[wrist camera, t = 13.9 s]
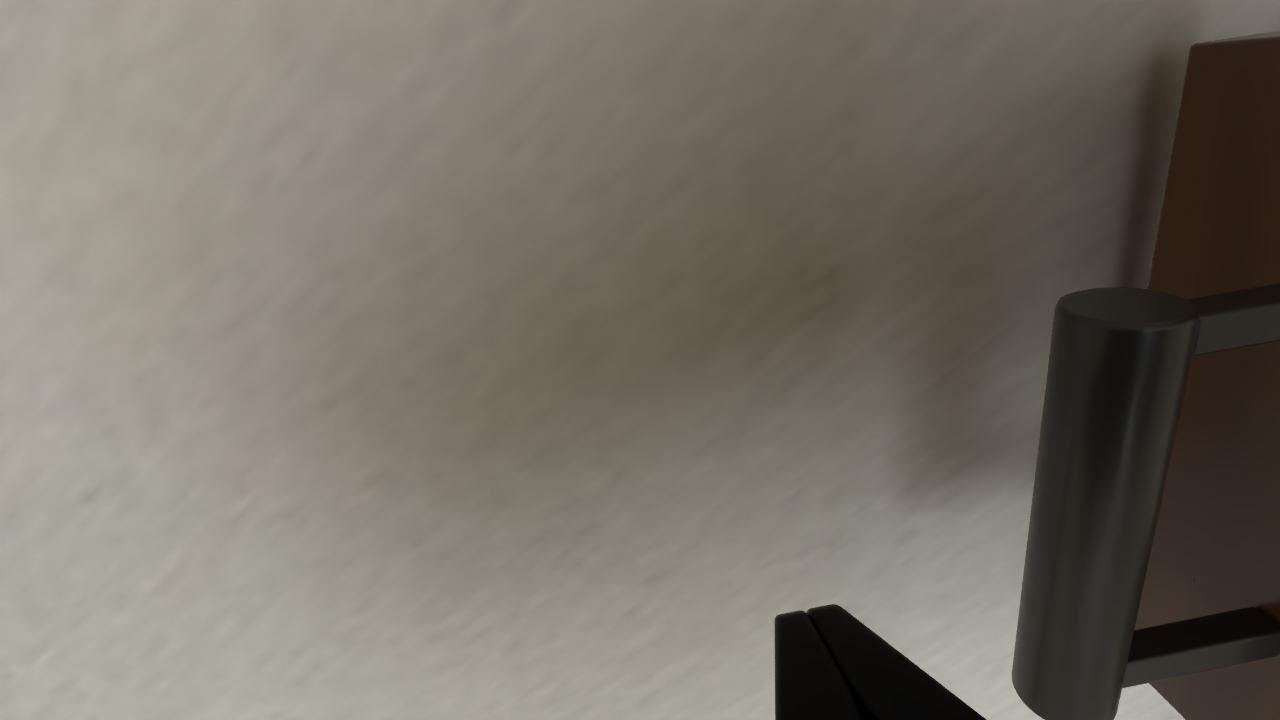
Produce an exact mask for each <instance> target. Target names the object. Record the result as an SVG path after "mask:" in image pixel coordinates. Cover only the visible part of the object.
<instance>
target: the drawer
mask: <svg viewBox="0 0 1280 720" xmlns="http://www.w3.org/2000/svg"><path fill="white" fill-rule="evenodd" d="M1012 682H1013V685H1014V688H1015V690H1016V692H1017V694H1018V695H1019V697H1020V698H1021V700H1022V701H1023V702H1024V703H1025V705H1026V706H1027V707H1028V708H1030V709H1031V710H1032V711H1033V712H1034V713H1035V714H1037V715H1038V716H1040V717H1041V718H1043V719H1045V720H1113V719H1114V718H1115V716H1116V713H1117V709H1118V704H1119V699H1120V695H1121V690H1122V688H1125V687H1130V686H1135V685H1140V684H1145V683H1149V684H1150V685H1152V686H1153V687H1154V688H1155V689H1156V690H1157V691H1158V692H1159V693H1160V694H1161V695H1162V696H1163V697H1164V698H1165V699H1166V700H1167V701H1168V702H1169V703H1170V704H1171V705H1172V706H1173V707H1174V708H1175V709H1176V710H1177V711H1178V712H1179V713H1180V714H1181V715H1182V716H1183V717H1184V718H1185V719H1186V720H1280V32H1273V33H1262V34H1254V35H1248V36H1241V37H1235V38H1228V39H1222V40H1215V41H1209V42H1202V43H1196V44H1194V45H1192V46H1191V48H1190V52H1189V58H1188V63H1187V69H1186V75H1185V81H1184V86H1183V92H1182V98H1181V103H1180V109H1179V115H1178V121H1177V126H1176V132H1175V138H1174V143H1173V149H1172V155H1171V160H1170V166H1169V172H1168V178H1167V183H1166V189H1165V195H1164V200H1163V206H1162V212H1161V217H1160V223H1159V229H1158V235H1157V240H1156V246H1155V252H1154V257H1153V263H1152V269H1151V275H1150V280H1149V286H1148V290H1146V289H1137V288H1096V289H1088V290H1082V291H1077V292H1073V293H1070V294H1067V295H1065V296H1063V297H1062V298H1061V299H1060V300H1059V301H1058V303H1057V304H1056V306H1055V313H1054V322H1053V330H1052V339H1051V347H1050V355H1049V364H1048V372H1047V381H1046V389H1045V398H1044V406H1043V415H1042V423H1041V431H1040V440H1039V448H1038V457H1037V465H1036V474H1035V482H1034V491H1033V499H1032V508H1031V516H1030V524H1029V533H1028V541H1027V550H1026V558H1025V567H1024V575H1023V584H1022V592H1021V600H1020V609H1019V617H1018V626H1017V634H1016V643H1015V651H1014V660H1013V668H1012Z"/></svg>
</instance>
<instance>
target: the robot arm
mask: <svg viewBox="0 0 1280 720" xmlns="http://www.w3.org/2000/svg"><path fill="white" fill-rule="evenodd" d="M775 720H986V719H985V718H983V717H982V716H981V715H980V714H978V713H977V712H976V711H974V710H973V709H972V708H971V707H969V706H968V705H967V704H965V703H964V702H963V701H962V700H960V699H959V698H958V697H956V696H955V695H954V694H953V693H951V692H950V691H949V690H947V689H946V688H945V687H944V686H942V685H941V684H940V683H938V682H937V681H936V680H935V679H933V678H932V677H931V676H929V675H928V674H927V673H926V672H924V671H923V670H922V669H920V668H919V667H918V666H917V665H915V664H914V663H913V662H911V661H910V660H909V659H908V658H906V657H905V656H904V655H902V654H901V653H900V652H899V651H897V650H896V649H895V648H893V647H892V646H891V645H890V644H888V643H887V642H886V641H884V640H883V639H882V638H881V637H879V636H878V635H877V634H875V633H874V632H873V631H871V630H870V629H869V628H868V627H866V626H865V625H864V624H862V623H861V622H860V621H859V620H857V619H856V618H855V617H853V616H852V615H851V614H850V613H848V612H847V611H846V610H844V609H843V608H842V607H840V606H838V605H835V604H831V605H826V606H821V607H816V608H811V609H809V610H808V611H807V613H806V612H804V611H795V612H790V613H785V614H779V615H777V616H776V618H775Z"/></svg>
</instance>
